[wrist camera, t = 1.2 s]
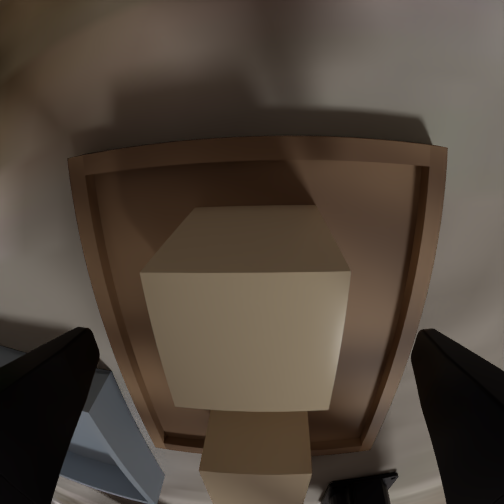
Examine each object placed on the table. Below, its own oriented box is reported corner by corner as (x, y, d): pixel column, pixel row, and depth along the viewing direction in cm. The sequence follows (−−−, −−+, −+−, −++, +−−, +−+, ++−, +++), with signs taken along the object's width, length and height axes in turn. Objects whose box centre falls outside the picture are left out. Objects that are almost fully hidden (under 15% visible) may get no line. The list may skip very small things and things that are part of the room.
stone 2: (298, 428, 16) (302, 506, 11) (224, 427, 17) (213, 504, 12) (304, 381, 15) (312, 473, 10) (216, 380, 15) (198, 470, 10)
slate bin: (164, 475, 22) (156, 505, 18) (46, 441, 23) (34, 464, 19) (111, 370, 16) (88, 412, 13) (-20, 339, 17) (-42, 363, 14)
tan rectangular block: (310, 308, 13) (328, 409, 8) (206, 309, 13) (175, 406, 8) (315, 205, 11) (351, 270, 6) (195, 207, 12) (139, 272, 6)
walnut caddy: (367, 436, 18) (370, 449, 16) (159, 434, 19) (155, 447, 17) (433, 144, 10) (447, 147, 9) (82, 154, 11) (67, 158, 10)
